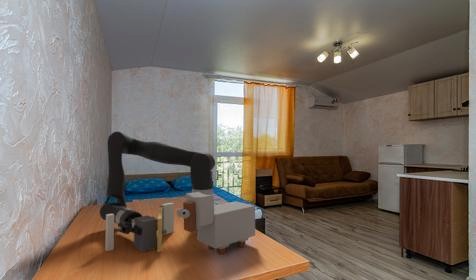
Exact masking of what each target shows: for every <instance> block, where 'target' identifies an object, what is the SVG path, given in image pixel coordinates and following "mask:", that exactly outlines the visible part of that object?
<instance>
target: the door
mask: <svg viewBox="0 0 476 280" xmlns="http://www.w3.org/2000/svg"><path fill="white" fill-rule="evenodd" d="M162 210H163V207H161V208H159V209H158V213H157V214H158V216H157V220H158V231H157V249H156V253H161V252H162V243H163V236H165V235H167V234H166V233H167V230H166V229H163V230H162ZM162 234H163V235H162Z"/></svg>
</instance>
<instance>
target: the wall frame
mask: <svg viewBox="0 0 476 280" xmlns="http://www.w3.org/2000/svg"><path fill="white" fill-rule="evenodd" d="M161 207H163V210H162V230H163V229H166V230H167V233H166V234H165V235H168V234H169V235H170V234H172V233H174V232H175V231H174V230H175V228H174V227H175V226H174V225H175V224H174V223H175V221H174V220H175V219H174V218H175V215H174V214H175V203H174V202H169V203H168V202H167V203H163V204H159V208H161ZM162 236H164V235H163V234H162ZM104 241H105V243H104V245H105V246H104V247H105V248H104V249H105V251H106V252H110V251H113V250H115V249H114V246H115V245H114V244H115V243H114V242H115V222H114V214H107V215H106V220H105V240H104Z"/></svg>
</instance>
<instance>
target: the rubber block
mask: <svg viewBox="0 0 476 280" xmlns="http://www.w3.org/2000/svg"><path fill="white" fill-rule="evenodd" d="M153 217H154V216H150V215H142V217H137V218H135V219H134V222H135V225H136V226H137V227H139V228H141V235H137V234H135V233H133V247H134V248H136V249H138V250H139V251H140V252H146V251H150V250H153V248H154V249H156V247H157V238H158V231H157V220H158V218H156V217H155V218H153Z"/></svg>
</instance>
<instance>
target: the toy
mask: <svg viewBox="0 0 476 280" xmlns="http://www.w3.org/2000/svg"><path fill="white" fill-rule="evenodd" d="M182 203H183V206H182V207H179V208H178V209H177V210H176V215H177V216H178V217H180V218H181V217H182V218H183V230H184V231H186V232H189V233H194V232H196V231H197V234H196V236H197V237H196V239H197V241H199V242H201V243H203V244H206V245H207V248H208V249H209V250H215V249H217V250H216V251H217V254H219V255H224V254H226V253H227V248H229V247H230V245H231V244H234V243H236V245H237V247H240V248H244V247H245V246H246V241H248V240H249V238H251V237H252V238H253V237H255V236H256V205H253V204H249V203H245V202H239V201H231V202H227V203H226V202H225V203H221V204H217V205H215V200H214V194H213V195H205V194H202V193H200V192H194V193H192V192H189V193H187V192H186V194H185V201H183V202H182ZM196 226H197V230H196Z"/></svg>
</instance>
